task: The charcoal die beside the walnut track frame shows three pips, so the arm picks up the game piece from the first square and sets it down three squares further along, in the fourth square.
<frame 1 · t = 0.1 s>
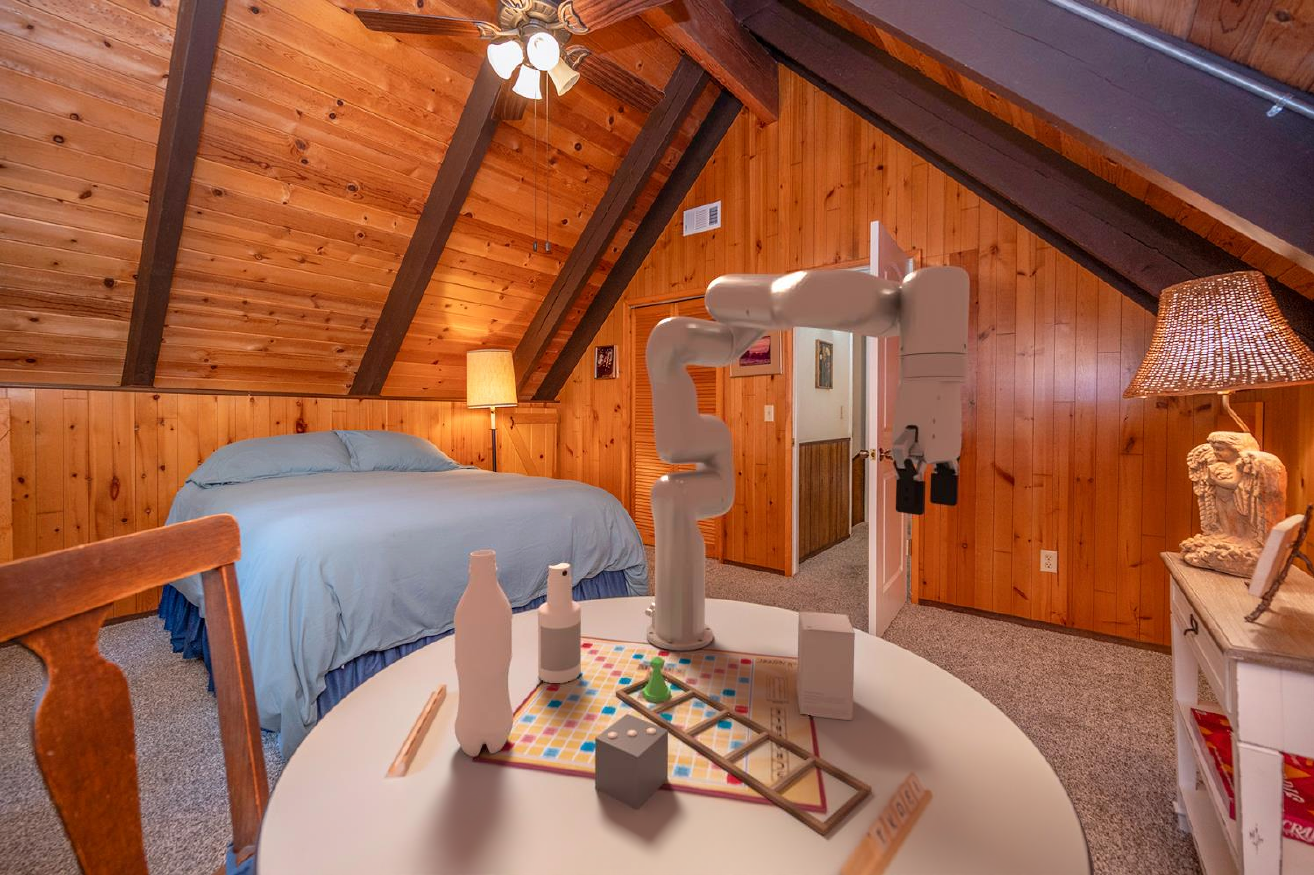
hand: (927, 508, 68), 31 cm above the table, tool pointing down, fingers open, 9 cm apart
game piece: (656, 696, 83), resting in track board
supplement box: (823, 706, 80), on the table
spray bottle: (559, 675, 89), on the table
water bottle: (484, 745, 70), on the table
die: (631, 784, 63), on the table
track board: (725, 736, 72), on the table
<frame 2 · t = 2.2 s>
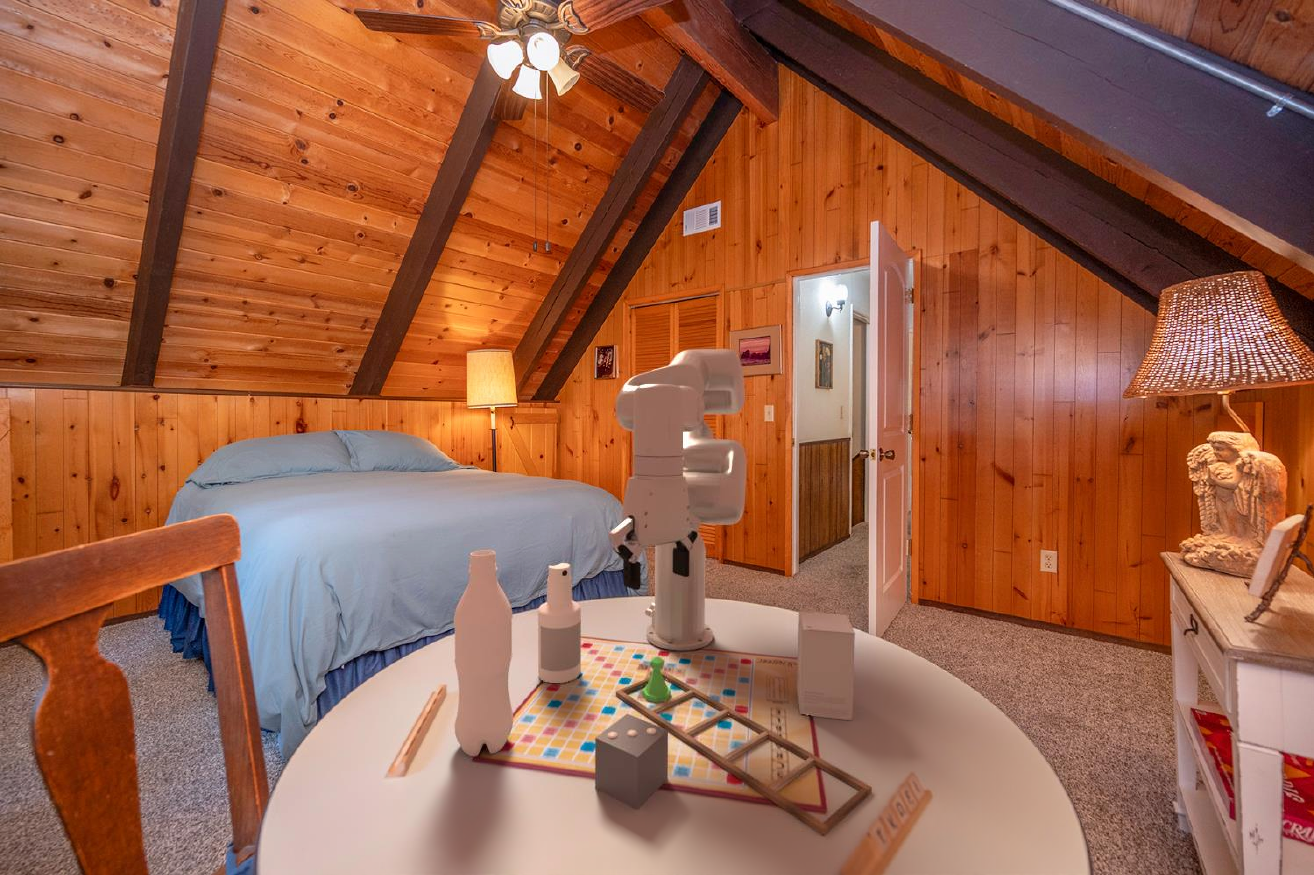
hand: (657, 581, 81), 18 cm above the table, tool pointing down, fingers open, 9 cm apart
nothing on the table moved.
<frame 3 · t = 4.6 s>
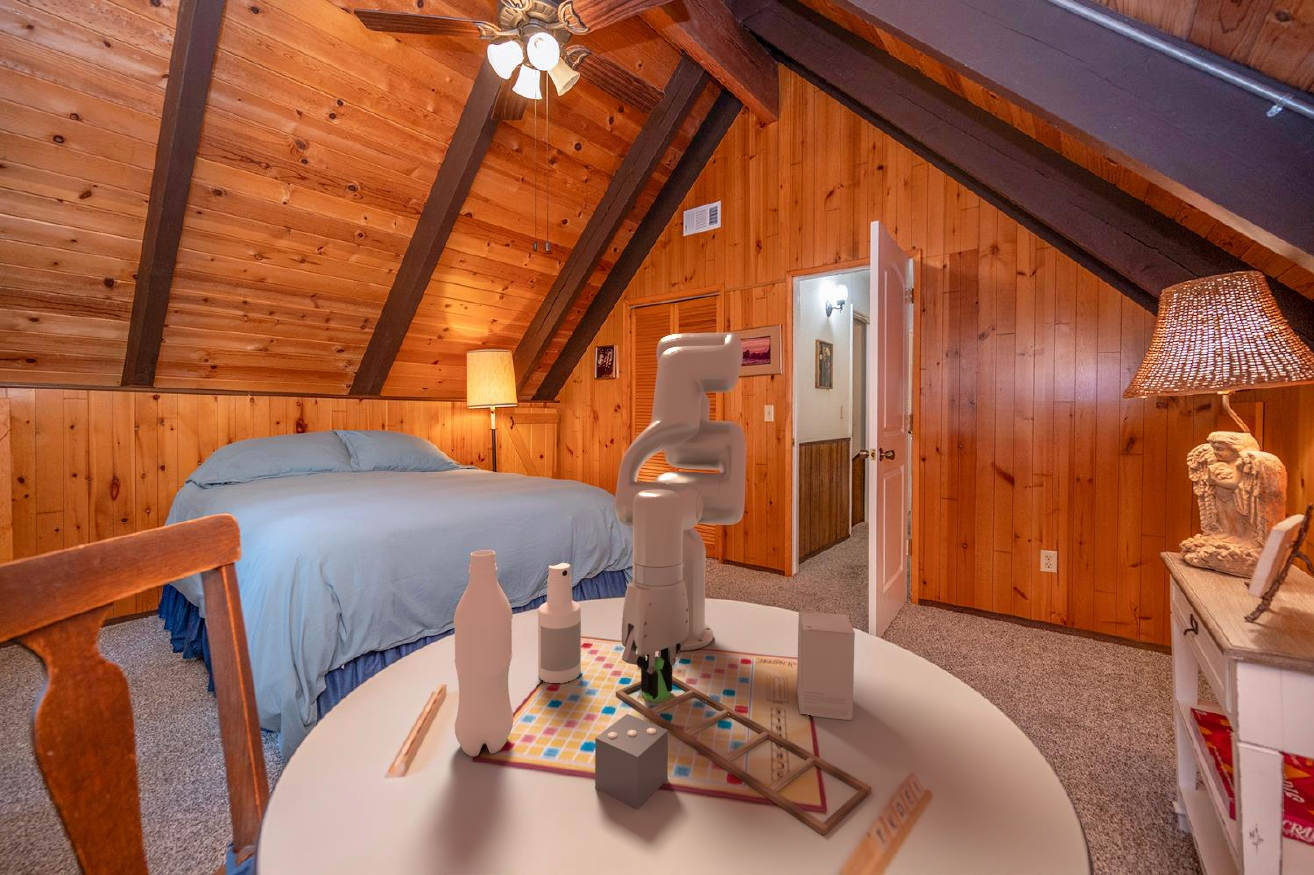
hand: (656, 690, 82), 1 cm above the table, tool pointing down, fingers closed on game piece, 2 cm apart
game piece: (656, 696, 82), resting in track board, touching gripper
everything else where it was.
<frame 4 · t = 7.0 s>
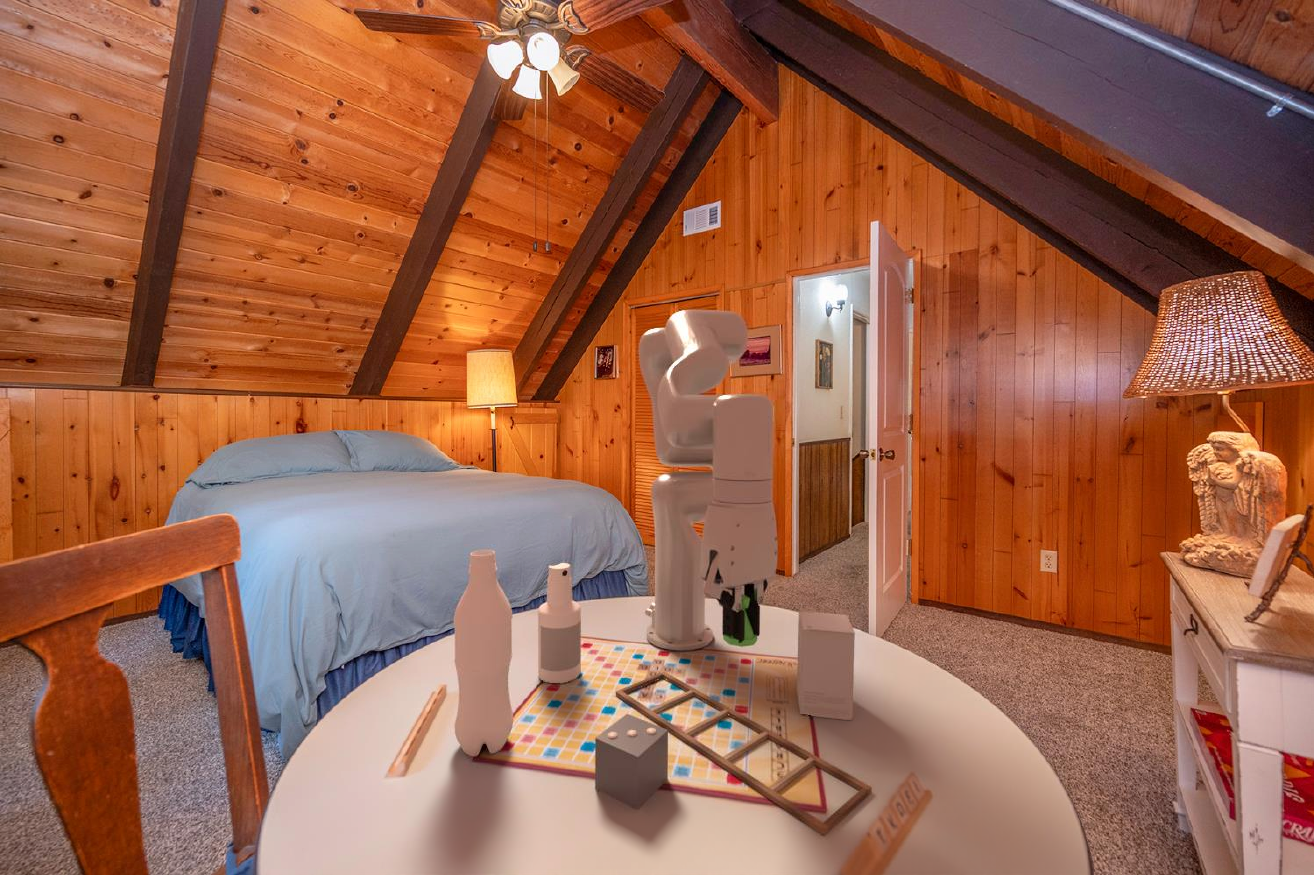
hand: (741, 635, 69), 15 cm above the table, tool pointing down, fingers closed on game piece
game piece: (740, 641, 69), point 14 cm above the table, touching gripper
everything else where it was.
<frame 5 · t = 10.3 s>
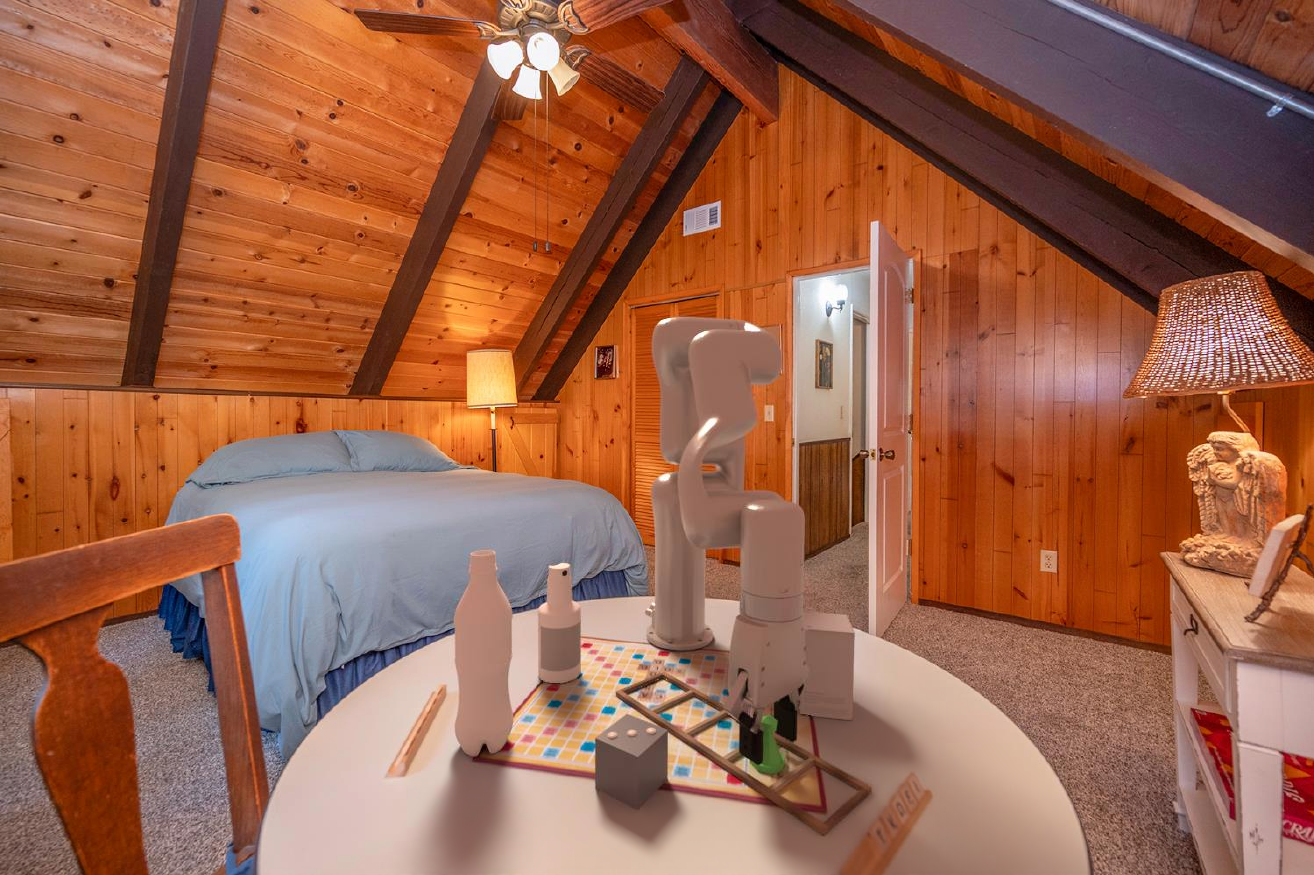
hand: (768, 745, 67), 2 cm above the table, tool pointing down, fingers open, 6 cm apart
game piece: (767, 764, 67), resting in track board
everything else where it was.
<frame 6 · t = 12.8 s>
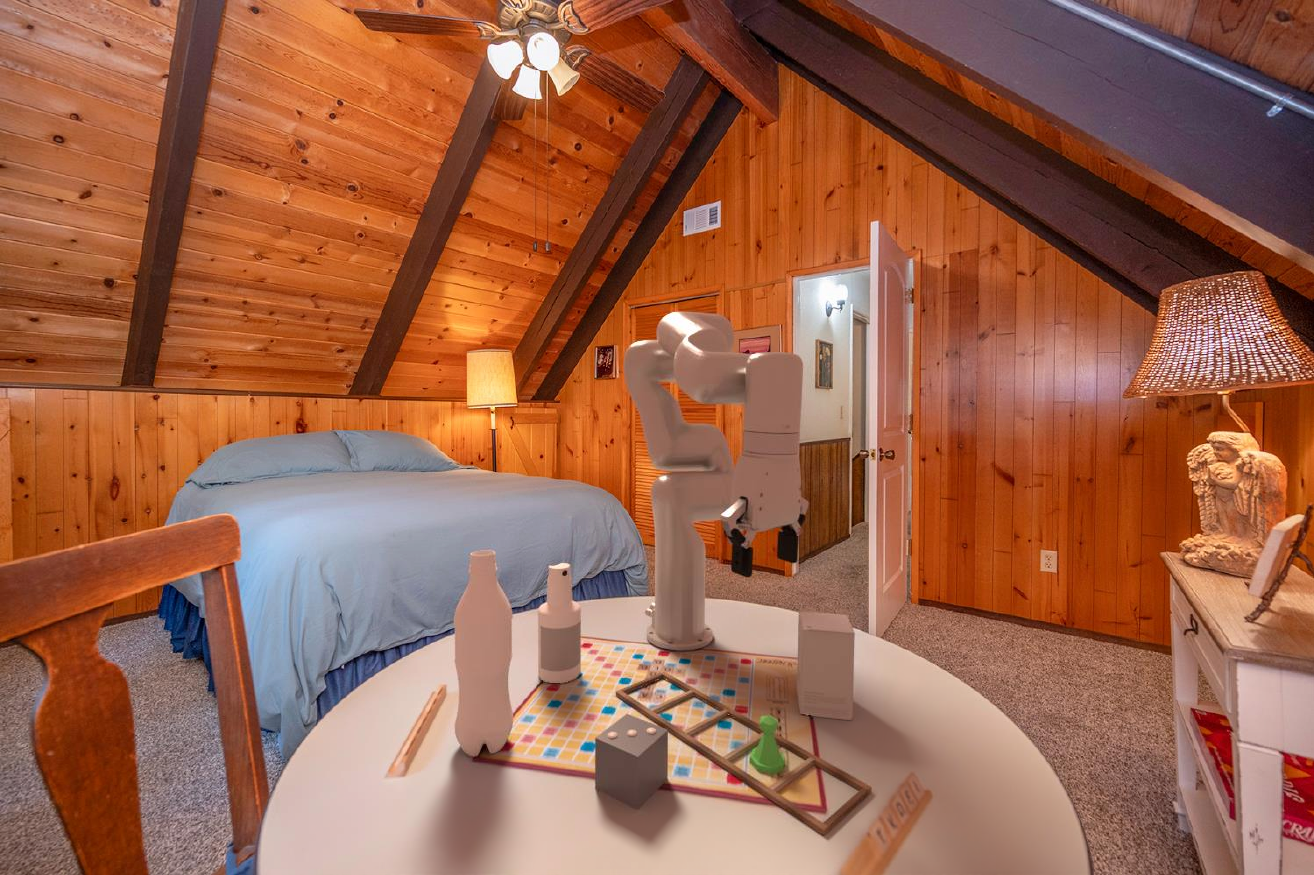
hand: (765, 567, 75), 22 cm above the table, tool pointing down, fingers open, 9 cm apart
nothing on the table moved.
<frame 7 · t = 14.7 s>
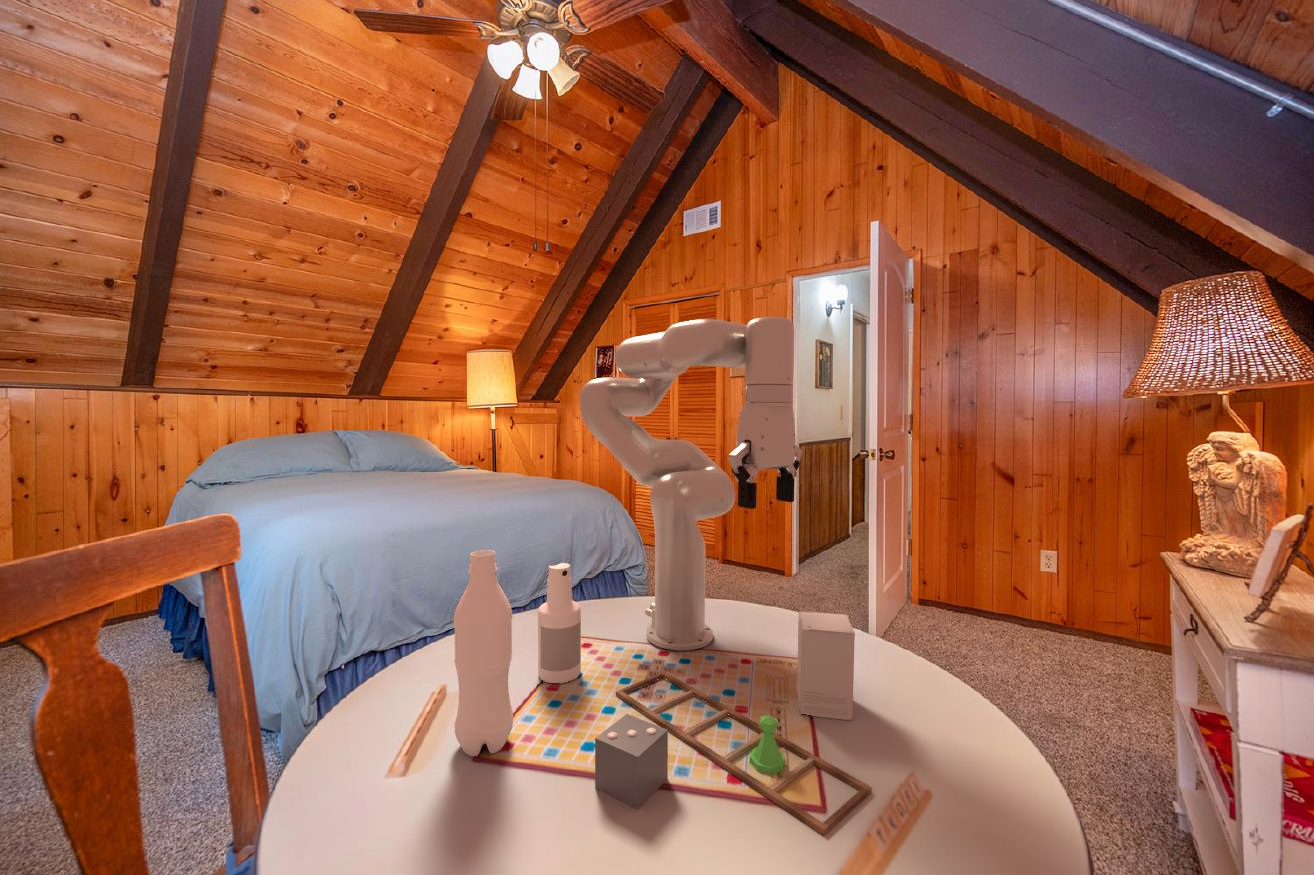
hand: (766, 504, 87), 28 cm above the table, tool pointing down, fingers open, 9 cm apart
nothing on the table moved.
at the end: game piece 0.2 cm from the target spot, resting in track board; game piece tilted 0°; the gripper is holding nothing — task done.
